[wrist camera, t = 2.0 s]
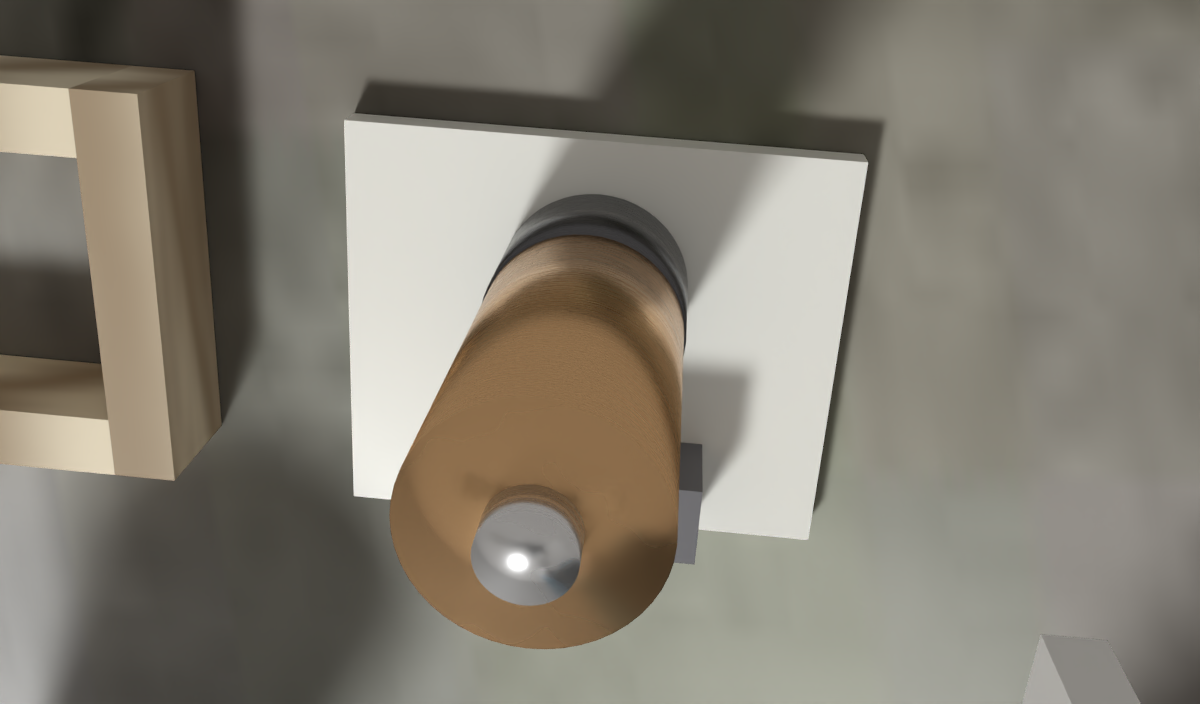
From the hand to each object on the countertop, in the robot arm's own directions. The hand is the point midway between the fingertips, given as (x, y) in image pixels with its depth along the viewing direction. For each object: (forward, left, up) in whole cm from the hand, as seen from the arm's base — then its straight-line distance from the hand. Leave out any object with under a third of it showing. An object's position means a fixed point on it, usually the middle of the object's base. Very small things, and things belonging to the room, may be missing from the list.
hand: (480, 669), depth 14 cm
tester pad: (0, +2, -15) cm, 16 cm away
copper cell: (0, 0, -15) cm, 15 cm away
